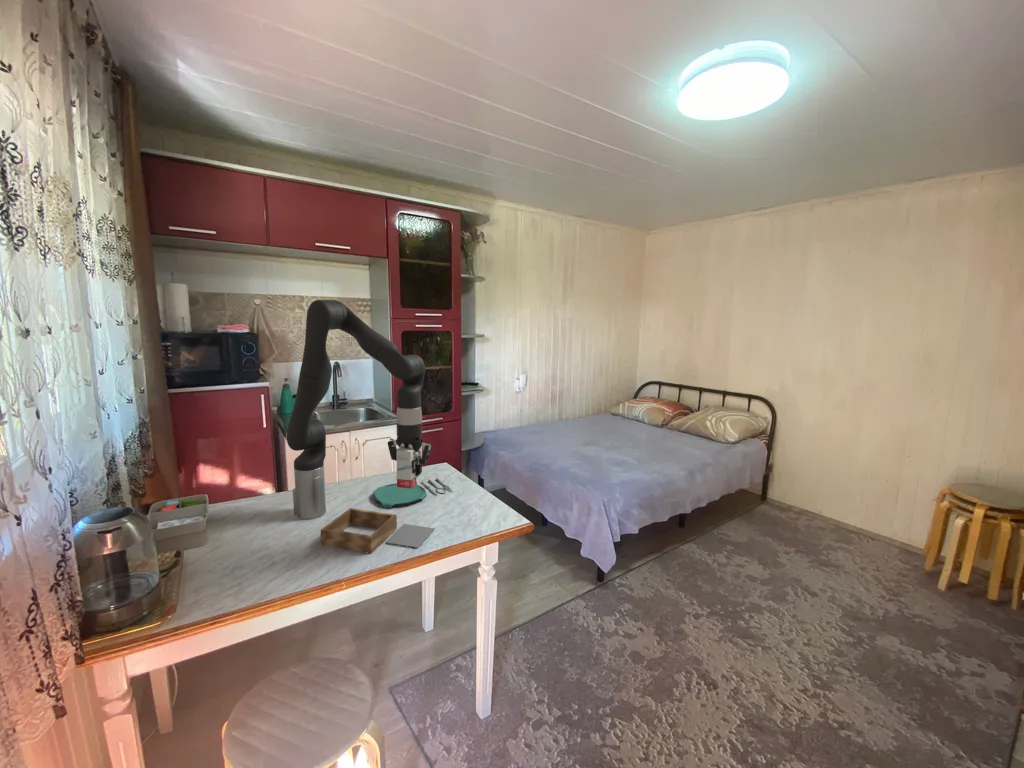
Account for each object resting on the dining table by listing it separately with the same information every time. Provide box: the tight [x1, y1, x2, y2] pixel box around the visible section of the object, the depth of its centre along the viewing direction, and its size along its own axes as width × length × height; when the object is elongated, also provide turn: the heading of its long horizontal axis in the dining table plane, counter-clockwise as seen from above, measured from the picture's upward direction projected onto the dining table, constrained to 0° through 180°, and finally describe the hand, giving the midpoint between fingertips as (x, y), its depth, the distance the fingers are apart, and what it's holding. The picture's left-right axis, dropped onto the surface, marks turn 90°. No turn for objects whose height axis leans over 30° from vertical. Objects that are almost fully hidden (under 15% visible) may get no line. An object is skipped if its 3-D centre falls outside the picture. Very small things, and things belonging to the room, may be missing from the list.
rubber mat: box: [384, 523, 436, 549], centre depth 133 cm, size 11×12×1 cm
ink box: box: [396, 446, 423, 489], centre depth 129 cm, size 9×5×12 cm, turn 168°
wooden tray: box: [320, 508, 398, 554], centre depth 132 cm, size 17×15×5 cm
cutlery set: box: [372, 477, 454, 509], centre depth 165 cm, size 20×30×2 cm, turn 125°
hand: (409, 474), depth 130 cm, fingers closed on ink box, 5 cm apart
